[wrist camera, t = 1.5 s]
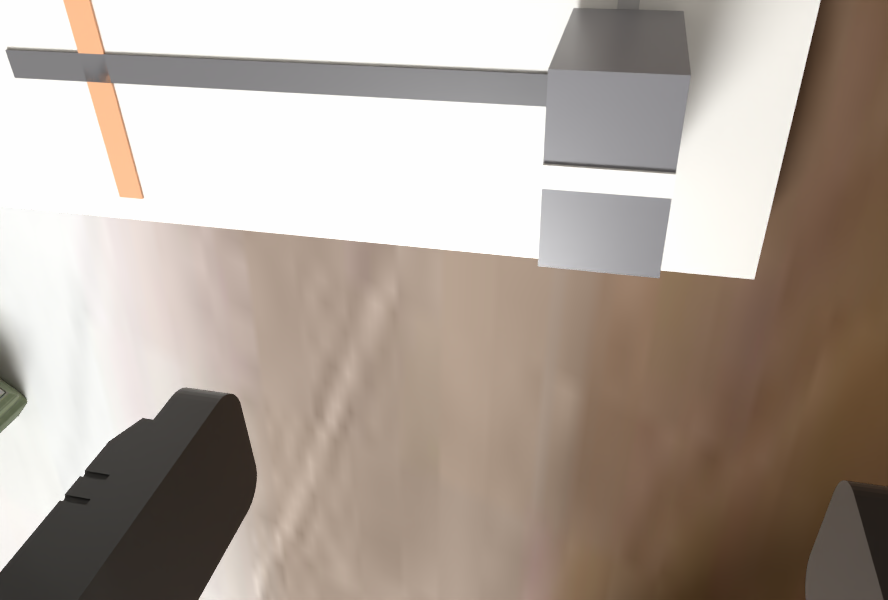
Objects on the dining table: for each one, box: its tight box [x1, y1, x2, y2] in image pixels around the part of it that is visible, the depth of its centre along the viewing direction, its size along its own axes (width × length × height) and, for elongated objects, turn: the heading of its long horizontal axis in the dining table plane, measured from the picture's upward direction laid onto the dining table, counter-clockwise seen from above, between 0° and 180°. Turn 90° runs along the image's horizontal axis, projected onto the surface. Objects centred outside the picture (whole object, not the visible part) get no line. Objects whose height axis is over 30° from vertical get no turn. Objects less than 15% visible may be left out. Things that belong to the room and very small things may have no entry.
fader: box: [538, 8, 691, 278], centre depth 20 cm, size 3×5×6 cm, turn 2°
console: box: [0, 0, 821, 279], centre depth 26 cm, size 30×12×3 cm, turn 92°
